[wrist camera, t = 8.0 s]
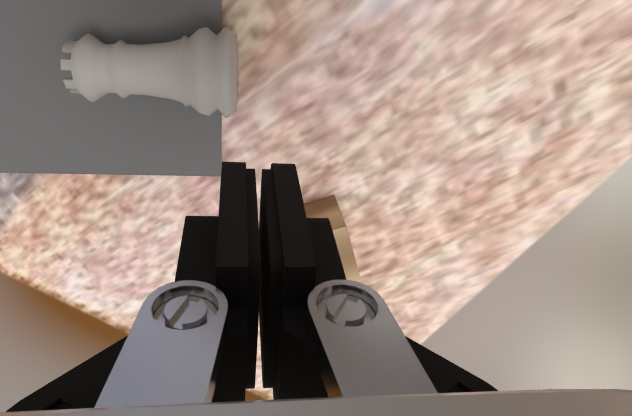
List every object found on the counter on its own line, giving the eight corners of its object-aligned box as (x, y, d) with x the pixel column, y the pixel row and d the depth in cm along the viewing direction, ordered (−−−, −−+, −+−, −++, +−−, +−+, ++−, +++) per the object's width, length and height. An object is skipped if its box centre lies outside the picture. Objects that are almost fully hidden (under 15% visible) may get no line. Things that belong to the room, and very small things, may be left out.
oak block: (274, 212, 33) (280, 246, 30) (333, 194, 33) (346, 226, 30) (291, 259, 35) (298, 296, 32) (347, 242, 35) (360, 278, 32)
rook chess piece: (239, 110, 29) (91, 106, 28) (238, 25, 27) (81, 19, 27) (232, 126, 25) (58, 121, 24) (231, 27, 23) (45, 19, 22)
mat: (-109, -126, 22) (-115, -127, 22) (221, -92, 25) (221, -92, 24) (-32, 168, 29) (-36, 172, 29) (221, 173, 31) (221, 176, 31)
